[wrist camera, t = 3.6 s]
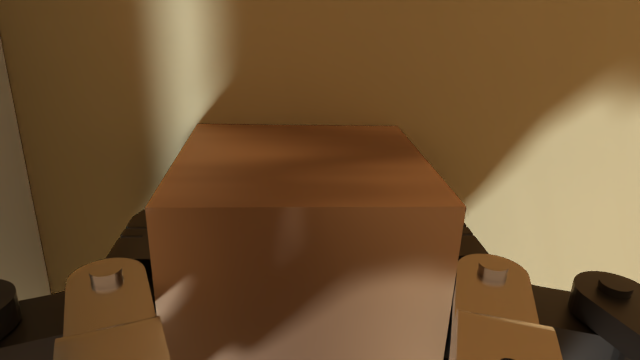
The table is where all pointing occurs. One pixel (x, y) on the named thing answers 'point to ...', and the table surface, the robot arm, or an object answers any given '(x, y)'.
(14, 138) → the tote
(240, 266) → the cube
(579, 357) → the robot arm
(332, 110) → the table surface
